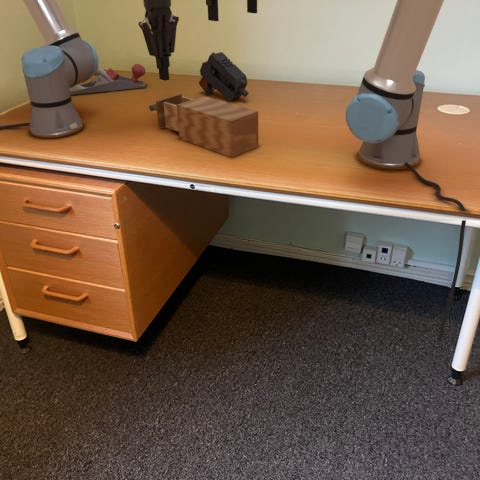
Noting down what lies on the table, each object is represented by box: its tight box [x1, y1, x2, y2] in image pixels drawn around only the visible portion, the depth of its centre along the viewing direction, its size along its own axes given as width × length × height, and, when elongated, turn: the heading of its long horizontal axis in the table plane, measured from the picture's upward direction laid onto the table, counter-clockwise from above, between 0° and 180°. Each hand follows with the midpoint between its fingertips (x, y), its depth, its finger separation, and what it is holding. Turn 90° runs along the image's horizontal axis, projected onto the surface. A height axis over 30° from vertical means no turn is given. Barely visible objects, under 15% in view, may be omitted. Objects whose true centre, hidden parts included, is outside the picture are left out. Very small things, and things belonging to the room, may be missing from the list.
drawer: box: [148, 93, 194, 133], centre depth 156 cm, size 26×9×8 cm, turn 47°
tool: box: [198, 51, 249, 102], centre depth 185 cm, size 6×19×15 cm, turn 51°
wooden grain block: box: [177, 95, 259, 158], centre depth 149 cm, size 21×10×10 cm, turn 47°
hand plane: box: [70, 63, 146, 96], centre depth 194 cm, size 7×31×15 cm, turn 107°
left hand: (164, 79), depth 157 cm, fingers closed
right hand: (233, 16), depth 129 cm, fingers open, 13 cm apart
